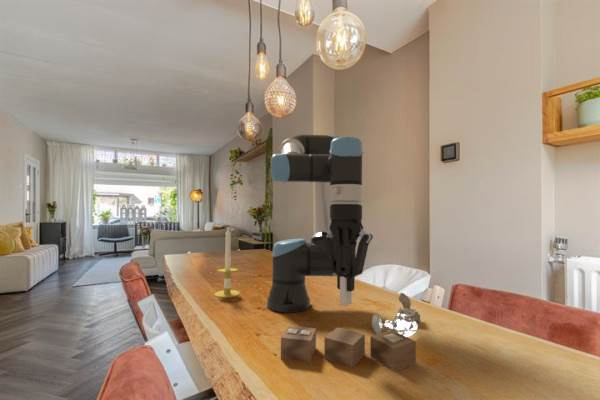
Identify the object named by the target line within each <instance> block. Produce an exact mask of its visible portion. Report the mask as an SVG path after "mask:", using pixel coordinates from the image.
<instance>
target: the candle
mask: <svg viewBox="0 0 600 400" xmlns="http://www.w3.org/2000/svg"><path fill="white" fill-rule="evenodd" d="M231 236H232V233H231V231H230V229H229V227H227V230H226V232H225V236H224V237H225V239H224V241H225V243H224V245H225V246H224V248H225V249H224V254H225V255H224V267H219V268H217V269H216V272H217V273H223V274H224V275H223V276H224V277H223V278H224V279H223V283H224V284H223V288H224V289H223V290H219V291H217V292H215V293H214V297H215V298H223V299H226V298H227V299H228V298H235V297H238V296H239V295H241V292H240V291H238V290H235V289H231V288H232V287H231V286H232V285H231V284H232V283H231V281H232V280H231V279H232V278H231V277H232V274H231V273H235V272H238V271H239V268H238V267H235V266H234V267H233V266H232V267H231V253H232V251H231V250H232V249H231V248H232V247H231V246H232V245H231V244H232V243H231V241H232V240H231V239H232V237H231Z"/></svg>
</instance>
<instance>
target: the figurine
mask: <svg viewBox="0 0 600 400" xmlns="http://www.w3.org/2000/svg"><path fill="white" fill-rule="evenodd" d="M397 313H398V312H397ZM399 314H400V313H398V314H396V315H395V317H394V319H392V320H390V319H386V320H385V321H382V319H381V315H380V313H379V312H376V313H375V314H374V315H373V316H372V317H371V327H372V329H373V330H374V333H375V334H376V335H377V334H380V333H382V329H386V330H387V331H391V330H392V331H394V332H397V333H399V334H401V335H403V336H405V337H408V338H410V337H411V336H412V335H414V334H415V333H416V332H417V331H418V326H419V325H418V324H417V323H416V322H415V321H414V320H415V319H416V317H415V318H413V319H408V316H412V315H414V314H415V313H411V314H407V313H406V314H405V313H404V314H401V316H399Z"/></svg>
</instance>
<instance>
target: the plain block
mask: <svg viewBox="0 0 600 400" xmlns="http://www.w3.org/2000/svg"><path fill="white" fill-rule="evenodd" d="M365 341H366V335H365V333H361V332H357V331H353V330H349V329H345V328H342V327H337V328H335V329H334V330H332V331H331V332H330V333H329V334H327V335H325V336H324V353H323V355H324V359H325V360H328V361H330V362H334V363H337V364H340V365H342V366H346V367H350V368H355V366H356V365H357V364H358V363H359V362H360V360H362V359H363V357H365V355H366V351H365V350H366V345H365V344H366V343H365Z"/></svg>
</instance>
